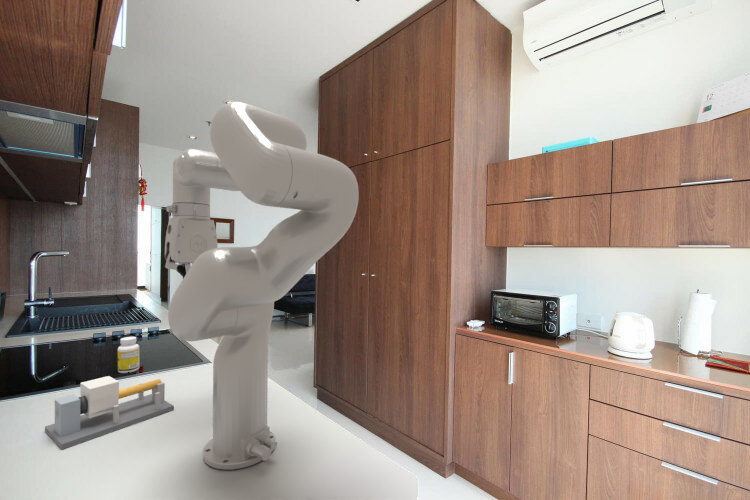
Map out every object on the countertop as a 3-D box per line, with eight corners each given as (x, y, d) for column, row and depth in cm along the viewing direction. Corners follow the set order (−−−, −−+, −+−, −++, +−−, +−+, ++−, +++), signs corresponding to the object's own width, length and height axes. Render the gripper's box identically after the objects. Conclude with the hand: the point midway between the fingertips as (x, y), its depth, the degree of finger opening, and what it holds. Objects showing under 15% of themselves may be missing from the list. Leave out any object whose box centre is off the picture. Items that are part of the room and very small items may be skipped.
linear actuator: (152, 397, 88) (152, 368, 88) (173, 409, 82) (174, 378, 82) (44, 431, 72) (45, 396, 72) (61, 449, 66) (61, 411, 66)
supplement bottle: (121, 368, 109) (121, 336, 109) (141, 366, 111) (142, 335, 111) (114, 374, 104) (114, 341, 104) (135, 372, 106) (136, 339, 106)
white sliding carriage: (108, 402, 79) (108, 375, 79) (118, 409, 75) (118, 381, 75) (80, 410, 75) (80, 382, 75) (89, 418, 71) (89, 389, 71)
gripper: (164, 209, 72) (163, 299, 72) (231, 215, 84) (230, 292, 84) (147, 210, 76) (147, 296, 76) (213, 216, 89) (213, 289, 89)
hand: (191, 293), depth 80 cm, fingers closed
